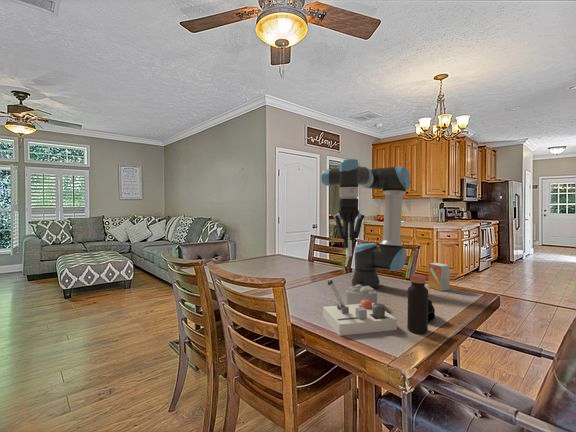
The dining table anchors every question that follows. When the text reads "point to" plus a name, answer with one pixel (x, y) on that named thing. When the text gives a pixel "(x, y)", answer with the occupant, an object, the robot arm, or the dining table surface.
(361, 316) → the slider knob
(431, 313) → the fried shrimp in bowl
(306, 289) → the dining table surface
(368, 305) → the button red
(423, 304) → the bottle
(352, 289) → the lumpy-topped squat cylinder
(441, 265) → the small box
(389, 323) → the panel
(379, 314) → the button black
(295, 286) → the dining table surface
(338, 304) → the lever
